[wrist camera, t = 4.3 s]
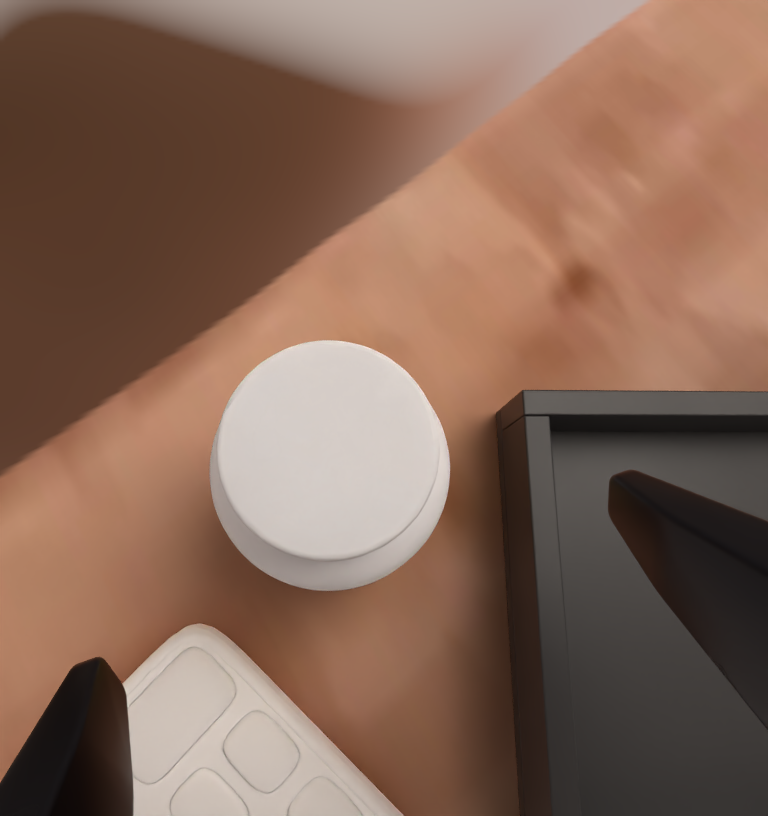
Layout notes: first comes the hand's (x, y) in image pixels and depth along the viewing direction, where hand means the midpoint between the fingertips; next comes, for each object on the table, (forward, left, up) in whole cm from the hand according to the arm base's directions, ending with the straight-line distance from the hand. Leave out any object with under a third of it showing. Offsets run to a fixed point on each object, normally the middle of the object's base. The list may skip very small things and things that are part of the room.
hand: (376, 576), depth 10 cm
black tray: (-2, -12, -10) cm, 16 cm away
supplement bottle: (+2, +1, -10) cm, 10 cm away
